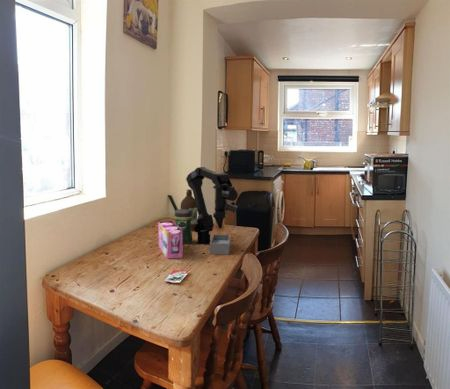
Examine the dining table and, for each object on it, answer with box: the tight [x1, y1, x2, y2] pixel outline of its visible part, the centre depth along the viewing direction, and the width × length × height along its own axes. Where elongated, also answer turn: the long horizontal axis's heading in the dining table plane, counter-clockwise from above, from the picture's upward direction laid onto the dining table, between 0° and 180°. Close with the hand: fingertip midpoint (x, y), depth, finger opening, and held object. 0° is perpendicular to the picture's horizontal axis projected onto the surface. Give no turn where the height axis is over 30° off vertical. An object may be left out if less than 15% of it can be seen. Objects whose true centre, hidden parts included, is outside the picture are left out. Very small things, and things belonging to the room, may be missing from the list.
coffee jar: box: [173, 208, 193, 245], centre depth 232 cm, size 10×8×19 cm
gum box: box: [158, 220, 184, 259], centre depth 215 cm, size 24×8×14 cm, turn 20°
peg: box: [216, 218, 225, 234], centre depth 220 cm, size 4×4×9 cm
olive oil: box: [180, 188, 198, 232], centre depth 261 cm, size 11×11×25 cm
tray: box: [209, 233, 231, 255], centre depth 221 cm, size 10×18×6 cm, turn 177°
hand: (220, 227), depth 220 cm, fingers closed on peg, 3 cm apart
